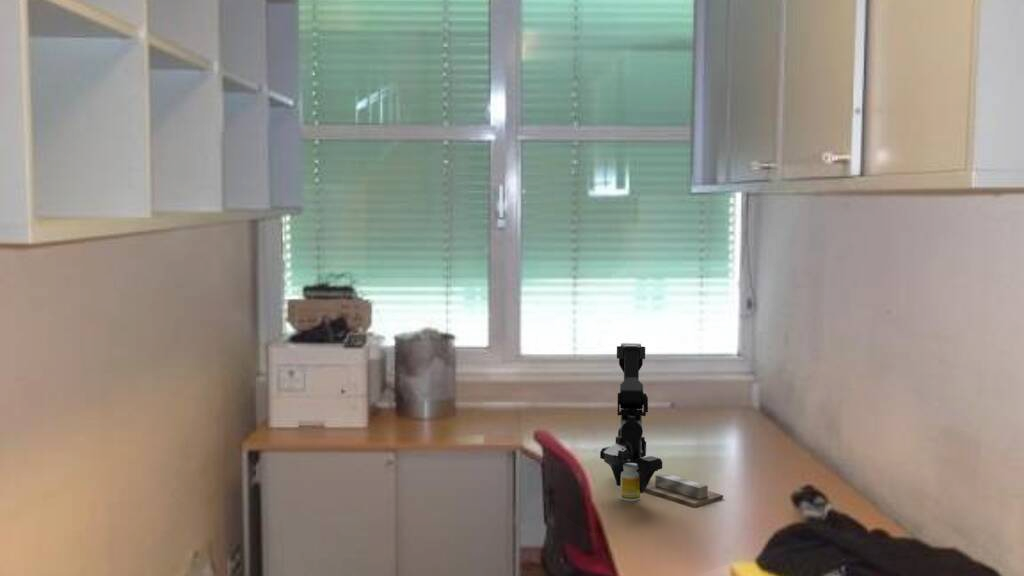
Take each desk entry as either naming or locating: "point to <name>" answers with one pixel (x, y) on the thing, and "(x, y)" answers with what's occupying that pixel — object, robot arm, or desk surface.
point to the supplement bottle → (630, 483)
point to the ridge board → (681, 496)
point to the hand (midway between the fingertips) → (630, 489)
